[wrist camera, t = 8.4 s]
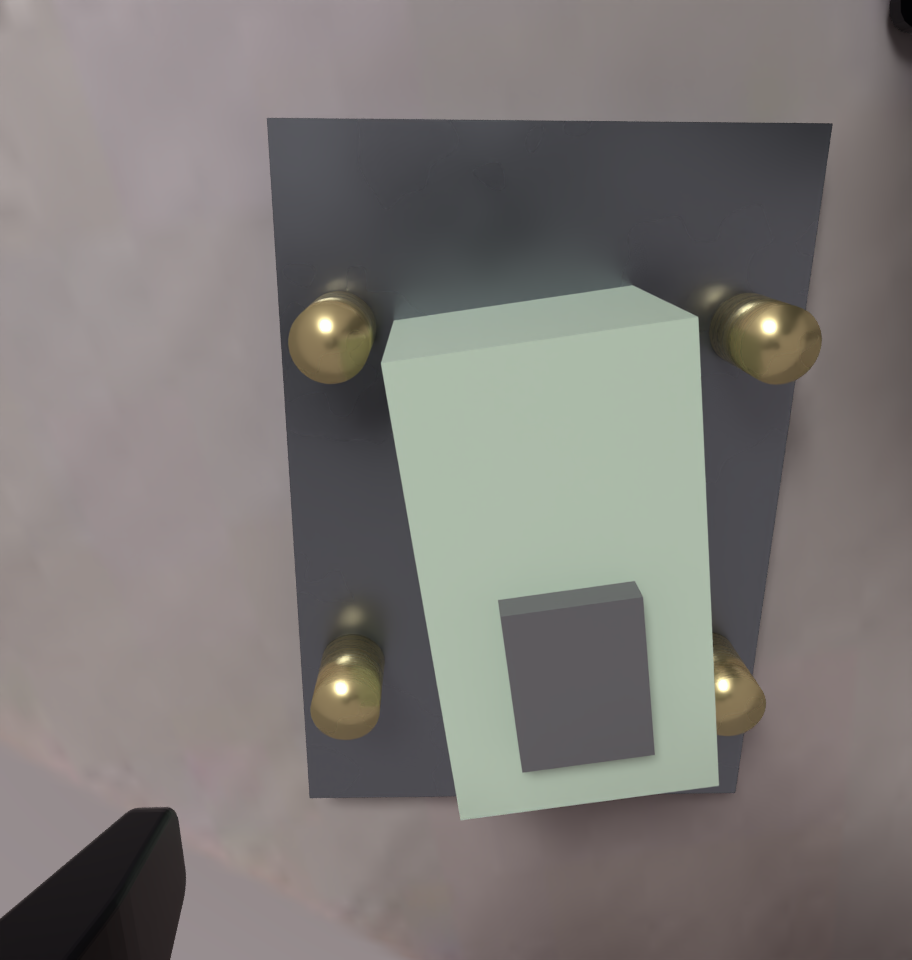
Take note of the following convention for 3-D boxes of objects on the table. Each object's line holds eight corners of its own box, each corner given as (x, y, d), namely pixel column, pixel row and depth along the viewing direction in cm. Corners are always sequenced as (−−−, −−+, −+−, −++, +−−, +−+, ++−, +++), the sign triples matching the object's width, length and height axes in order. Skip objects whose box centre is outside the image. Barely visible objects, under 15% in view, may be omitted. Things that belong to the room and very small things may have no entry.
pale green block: (632, 285, 17) (710, 322, 12) (658, 659, 20) (729, 807, 15) (394, 320, 17) (378, 371, 12) (455, 687, 20) (461, 843, 15)
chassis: (806, 127, 17) (885, 114, 14) (720, 762, 23) (764, 850, 20) (278, 122, 17) (245, 108, 14) (315, 767, 22) (297, 857, 19)
